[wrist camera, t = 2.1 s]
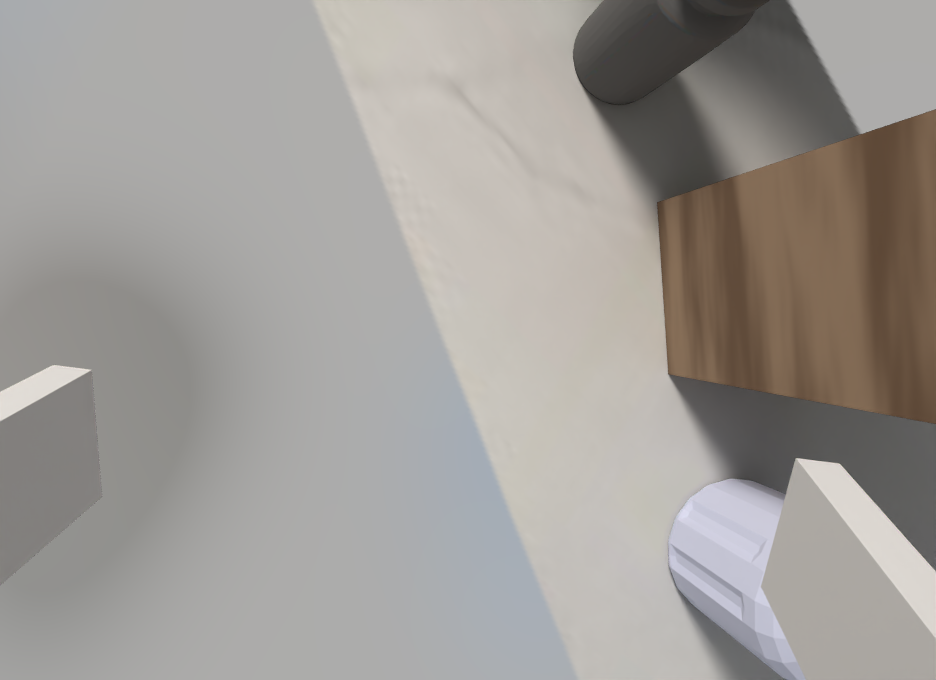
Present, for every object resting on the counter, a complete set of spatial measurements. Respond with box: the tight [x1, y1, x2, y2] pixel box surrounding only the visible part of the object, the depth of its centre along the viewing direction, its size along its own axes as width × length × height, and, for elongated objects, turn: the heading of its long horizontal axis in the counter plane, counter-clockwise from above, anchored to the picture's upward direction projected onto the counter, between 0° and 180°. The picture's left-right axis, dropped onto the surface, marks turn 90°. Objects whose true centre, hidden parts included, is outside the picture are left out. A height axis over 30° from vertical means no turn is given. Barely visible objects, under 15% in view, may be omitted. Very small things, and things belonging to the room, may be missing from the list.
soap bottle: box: [668, 479, 806, 680], centre depth 34 cm, size 9×9×25 cm
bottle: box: [573, 0, 769, 104], centre depth 35 cm, size 6×6×15 cm
